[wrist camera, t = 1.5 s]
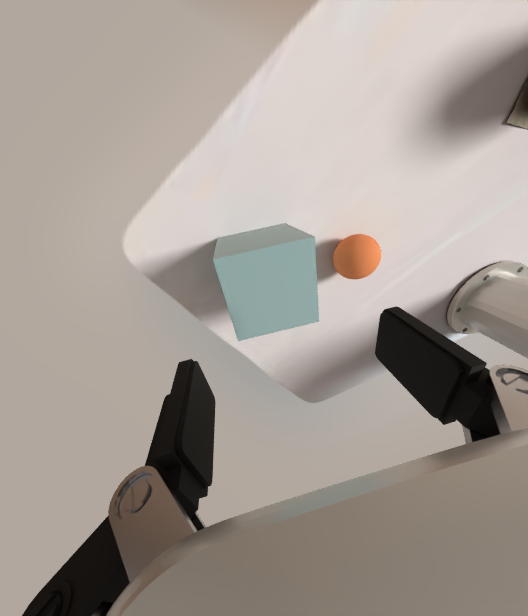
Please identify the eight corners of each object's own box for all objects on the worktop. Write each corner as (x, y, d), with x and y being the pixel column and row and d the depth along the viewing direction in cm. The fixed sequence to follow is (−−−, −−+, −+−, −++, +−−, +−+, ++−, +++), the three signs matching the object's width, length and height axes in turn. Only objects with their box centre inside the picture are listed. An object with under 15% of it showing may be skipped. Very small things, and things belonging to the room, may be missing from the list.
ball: (365, 227, 24) (395, 233, 20) (362, 266, 27) (388, 280, 22) (325, 236, 24) (347, 244, 20) (326, 275, 26) (345, 290, 22)
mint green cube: (285, 223, 23) (314, 236, 15) (292, 285, 26) (318, 321, 19) (217, 238, 22) (212, 259, 15) (235, 298, 26) (238, 341, 18)
